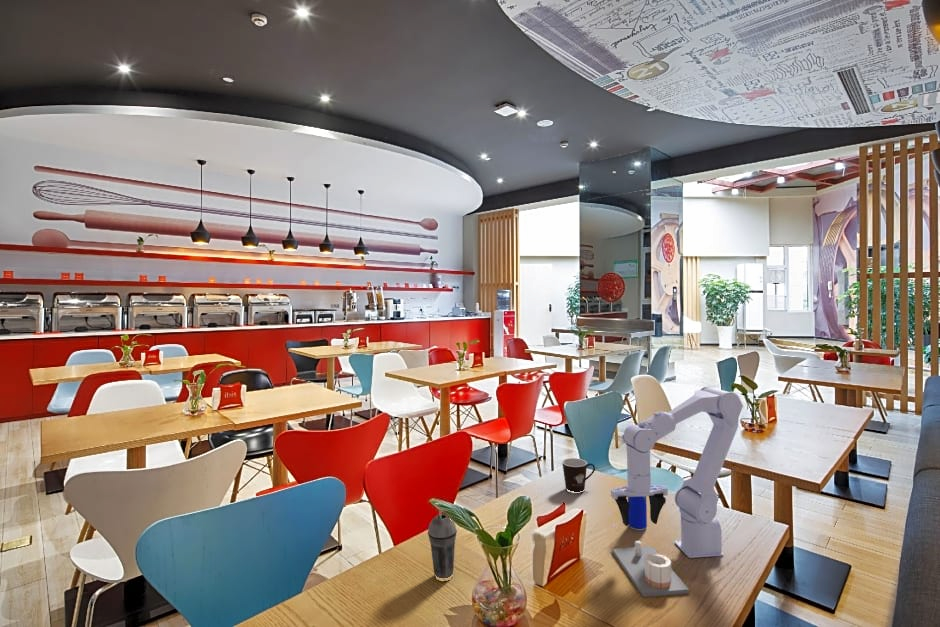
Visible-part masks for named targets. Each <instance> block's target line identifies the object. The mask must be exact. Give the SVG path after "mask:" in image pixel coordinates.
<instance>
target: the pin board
mask: <svg viewBox="0 0 940 627" xmlns="http://www.w3.org/2000/svg"><path fill="white" fill-rule="evenodd" d="M611 552H612V554H613V555H614V557H615V558H616V560H617V561H618V563H619V565H621V567H622V569H623V570H624V572H625V573H626V574H627V577H629V579H630V580H631V582H632V583H633V584H634V585H633V586H635V588H636V589H637V591H638V592H639V593H640V595H641V596H642V598H647V597H648V598H651V597H652V598H653V597H660V596H661V597H662V596H663V597H664V596H674V595H686V594H687V595H688V594H690V588H689V587H688V586H687V585H686V584H685V583H684V581H683V580H682V579H681V578H680V577H679V576H678V575H677V573H676V572H675V570H673V569H672V568H671V585H670V586H669V587H667V588H657V587H654V586H651V585H650V584H649V583H648V582H646V581H645V557H646V555H648V554H654V553H655V554H659V552H658V551H657V550H656V549H655V548H654V547H653V546H652V545H648V546H642V542H641V541H640V540H635V541H634V546H633V547H622V548H621V547H620V548H612V549H611Z"/></svg>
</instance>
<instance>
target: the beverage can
mask: <svg viewBox="0 0 940 627" xmlns="http://www.w3.org/2000/svg"><path fill="white" fill-rule="evenodd" d="M627 501H628V502H629V503H630V507H629V526H628V527H630V528H631V529H632V530H634V529H635V531H644V530H646V528H648V525H647V524H648V518H647V517H648V516H647V515H648V514H647V513H648V512H647V506H648V505H647V496H637V497H627Z"/></svg>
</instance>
